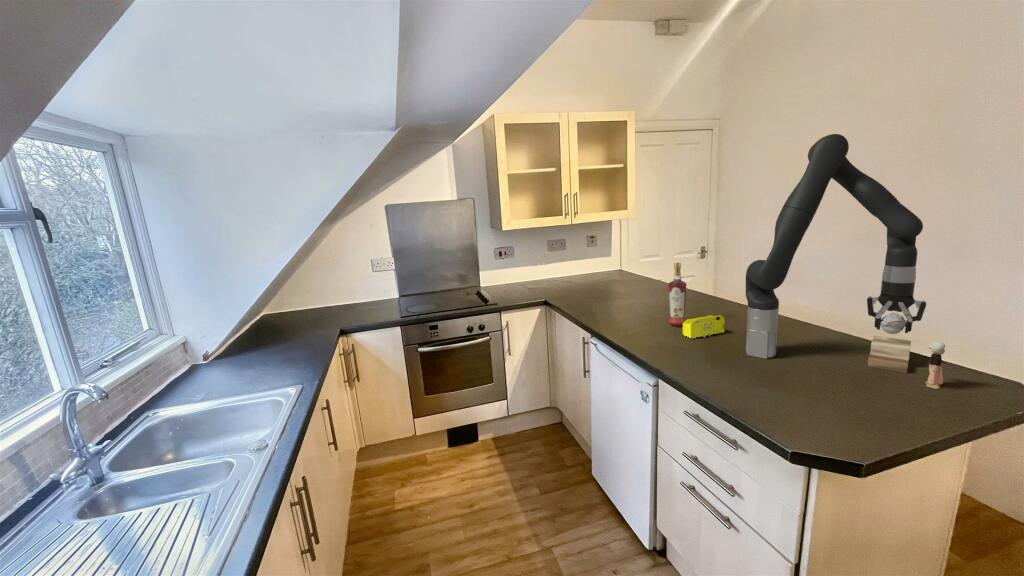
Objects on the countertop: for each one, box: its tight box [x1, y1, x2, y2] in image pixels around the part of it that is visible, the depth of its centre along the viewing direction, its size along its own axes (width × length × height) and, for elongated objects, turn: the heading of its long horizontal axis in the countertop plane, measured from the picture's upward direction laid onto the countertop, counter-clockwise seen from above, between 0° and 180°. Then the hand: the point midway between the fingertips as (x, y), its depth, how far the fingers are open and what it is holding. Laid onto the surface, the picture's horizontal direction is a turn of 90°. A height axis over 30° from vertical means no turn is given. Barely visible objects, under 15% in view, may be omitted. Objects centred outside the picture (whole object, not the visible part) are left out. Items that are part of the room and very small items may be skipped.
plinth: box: [867, 335, 912, 374], centre depth 131 cm, size 14×9×6 cm, turn 135°
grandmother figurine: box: [925, 341, 946, 390], centre depth 114 cm, size 8×4×13 cm, turn 148°
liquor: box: [668, 262, 687, 327], centre depth 180 cm, size 7×7×28 cm
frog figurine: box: [880, 312, 906, 335], centre depth 131 cm, size 6×7×7 cm
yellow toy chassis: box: [682, 314, 726, 339], centre depth 167 cm, size 16×6×8 cm, turn 105°
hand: (892, 330), depth 131 cm, fingers closed on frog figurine, 6 cm apart
